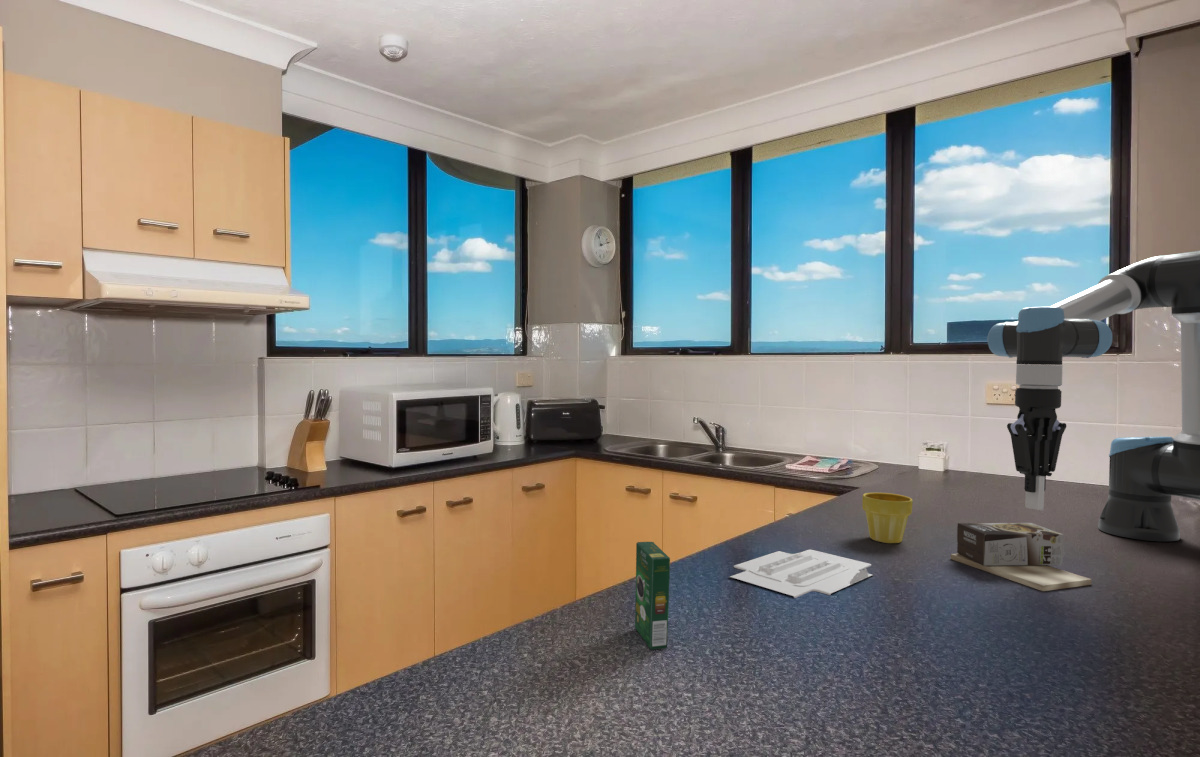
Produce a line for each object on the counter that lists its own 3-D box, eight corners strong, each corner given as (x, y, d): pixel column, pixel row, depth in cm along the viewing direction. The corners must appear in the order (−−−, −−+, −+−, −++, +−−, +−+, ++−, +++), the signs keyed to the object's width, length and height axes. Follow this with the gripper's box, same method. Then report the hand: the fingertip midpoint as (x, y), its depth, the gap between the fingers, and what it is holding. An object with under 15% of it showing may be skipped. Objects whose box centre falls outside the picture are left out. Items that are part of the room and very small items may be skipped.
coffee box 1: (670, 649, 94) (671, 555, 94) (650, 651, 93) (651, 557, 93) (652, 627, 102) (653, 540, 101) (634, 628, 101) (635, 541, 101)
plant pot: (902, 534, 158) (903, 492, 157) (918, 546, 147) (919, 502, 147) (856, 532, 159) (857, 491, 158) (869, 545, 148) (870, 500, 148)
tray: (713, 577, 127) (714, 557, 127) (794, 554, 146) (794, 537, 146) (812, 608, 112) (813, 585, 112) (888, 578, 131) (889, 559, 131)
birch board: (995, 554, 142) (995, 549, 142) (1091, 584, 124) (1091, 579, 123) (950, 558, 139) (950, 554, 138) (1042, 591, 120) (1043, 585, 120)
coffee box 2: (1064, 533, 131) (985, 534, 130) (1063, 566, 131) (983, 567, 130) (1031, 521, 140) (956, 521, 139) (1030, 552, 140) (955, 553, 139)
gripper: (1044, 386, 137) (1040, 502, 138) (995, 386, 133) (992, 506, 133) (1081, 388, 130) (1077, 510, 130) (1031, 388, 126) (1027, 515, 126)
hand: (1034, 508), depth 132 cm, fingers closed
